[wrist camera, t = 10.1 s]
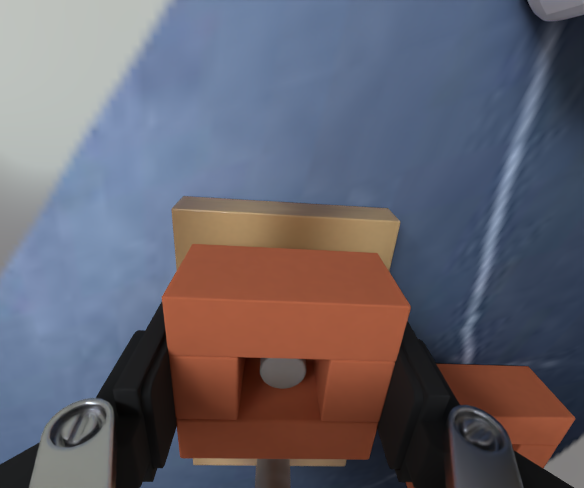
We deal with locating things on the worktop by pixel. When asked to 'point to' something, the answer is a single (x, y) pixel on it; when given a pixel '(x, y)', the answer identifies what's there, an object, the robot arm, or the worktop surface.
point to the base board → (292, 235)
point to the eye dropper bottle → (557, 9)
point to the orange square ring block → (513, 405)
